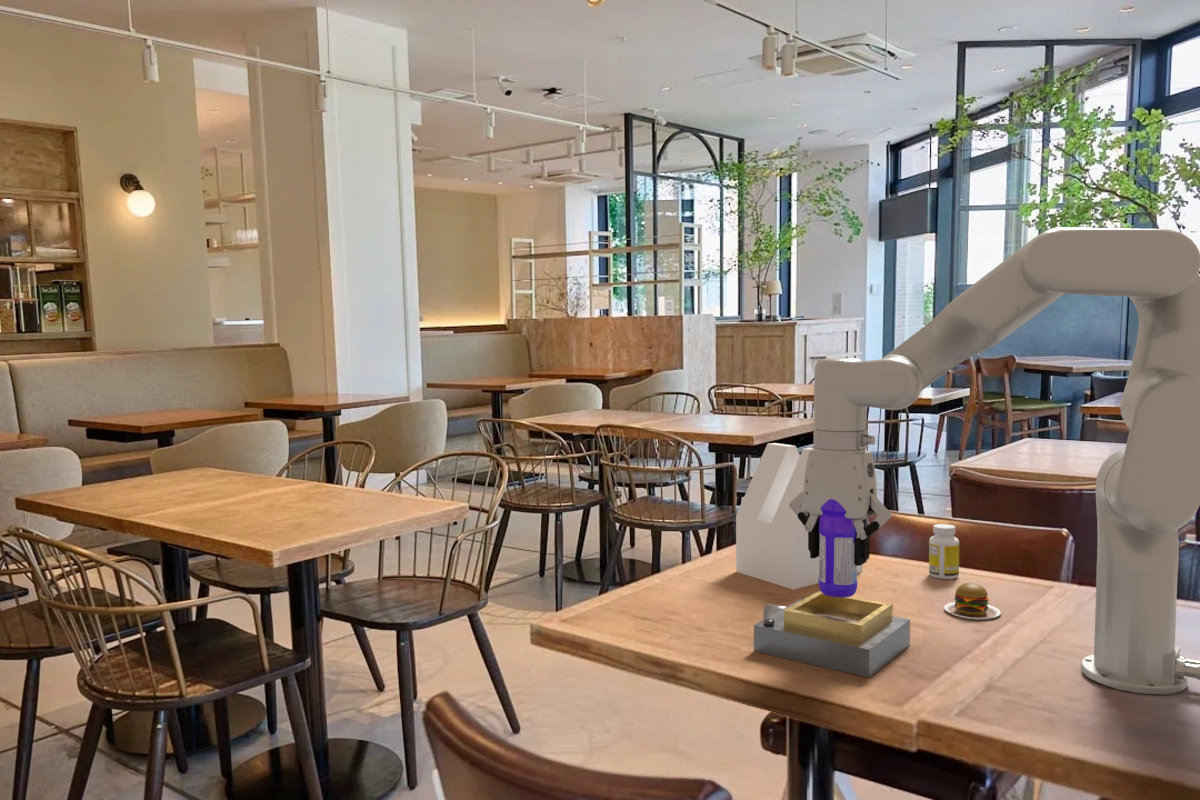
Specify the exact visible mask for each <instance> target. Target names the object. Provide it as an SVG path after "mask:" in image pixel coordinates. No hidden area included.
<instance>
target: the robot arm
mask: <svg viewBox="0 0 1200 800" xmlns="http://www.w3.org/2000/svg"><path fill="white" fill-rule="evenodd" d="M1199 273H1200V250H1199V248H1198V246H1197V245H1196V243H1194V241H1193V240H1192V239H1191V238H1189V237H1188V235H1185V234H1184V233H1181V232H1179V231H1176V230H1172V229H1167V228H1166V229H1164V228H1098V227H1097V228H1095V227H1094V228H1093V227H1066V226H1065V227H1055V228H1051V229H1048V230H1045V231H1043V232H1041V233H1040V234H1038V235H1037V236H1035V237H1033V238H1032V239H1031V240H1029V241H1028V242H1027V243H1025V244H1024V245H1023V246H1021V247H1020V248H1019V249H1017V250H1016V251H1015V252H1014V253H1012V254H1011V255H1009V256H1008V257H1007V258H1005V260H1003V261H1002V262H1000V264H998V265H997V266H996V267H994V268H993V269H992V270H990V271H989V272H987V273H986V274H985V275H983V277H981V278H980V279H979V280H977V281H976V282H975V283H973V284H972V285H971V286H969V287H968V288H967V289H965V290H964V291H963V292H961V293H960V294H959V295H957V296H956V297H955V298H954V299H953V300H952V301H950V302H949V303H948V304H947V305H946V306H945V307H944V308H943V309H942V310H941V311H940V312H939V313H938V314H937V315H936V316H934V318H932V319H931V320H930V321H928V322H927V323H926V324H925V325H924V326H923V327H921V328H920V329H918V330H917V332H915V333H914V334H912V335H911V336H910V337H909V338H907V339H906V340H905V341H903V342H902V343H901V344H898V346H897V347H895V348H894V349H893V350H891V351H890V352H889V353H887V354H886V355H884V356H883V357H882V358H880V359H871V360H862V359H860V358H855V357H826V358H821V359H819V360H818V361H816V363H815V365H814V369H813V370H814V372H813V373H814V374H813V377H814V379H813V384H814V385H813V388H814V389H813V447H811V448H812V449H810V451H809V455H808V460H807V465H806V471H805V479H804V490H803V491H802V492H801V493H800V494H799V495H798V496H797V497H796V498H795V499H793V500H792V501H791V502H790V503H789V506H790V508H791V509H792V510H793V511H794V513H795V514H797V516H798V519H799V520H800V521H801V522H802V524H803V525H804V526H805V530H806V531H807V532H808V550H809V551H810V558H813V559H814V558H816V557H819V542H820V532H819V521H820V516H821V515H823V512H822V511H821V506H823V505H824V504H825V503H826V502H827V501H828V500H830V499H833V500H836V501H837V502H839V503H840V504H841V506H842V507H843V508H844V509H845V510H846V514H845V518H847V519H849V520H852V521H853V524H854V526H855V529H856V532H857V534H858V538H857V539H855V553H854V564H855V565H856V566H860V565H862V566H863V565H864V564H866V563H867V562H868V560H869V559H870V556H871V555H870V554H871V553H870V550H871V549H870V548H871V543H870V542H871V540H870V539H871V537H872V536H873V535H874V534H875V533H876V532H877V531H878V530H880V529H881V528H882V526H883V525H884V524H886V523H887V522H888V521H889V520H890V519H892V513H891V512H890V511H889V509H888V508H887V507H886V506H885V505H884V504H883V503H882V502H881V501H880V500H879V499H878V490H877V489H878V487H877V485H878V484H877V478H876V477H877V476H876V469H875V468H876V467H875V464H874V463H875V462H874V456H873V452H872V451H871V450H867V448H868V446H870V445H871V446H874V445H875V444H876V436H874V435H870V434H868V429H867V407H868V408H876V409H882V410H888V411H890V410H891V411H899V410H903V409H906V408H908V407H911V405H913V404H914V403H915V402H916V401H917V400H918V398H919V397H920V395H921V392H923V390H925V389H926V388H927V387H929V386H930V385H932V384H933V383H934V382H935V381H937V380H938V379H939V378H941V377H942V376H943V375H945V374H946V373H948V372H949V371H950V370H952V369H953V368H955V367H956V366H958V365H959V364H961V363H962V362H964V361H966V360H968V359H969V358H972V357H973V356H976V355H978V354H981V353H983V352H985V351H987V350H989V349H991V348H993V347H994V346H995V345H997V344H999V343H1000V342H1002V341H1003V340H1004V339H1006V338H1007V337H1008V336H1010V335H1011V334H1012V333H1014V332H1015V331H1016V330H1017V329H1019V328H1020V327H1021V326H1023V325H1024V324H1025V323H1027V322H1028V321H1030V320H1031V319H1032V318H1033V317H1035V316H1037V315H1038V314H1039V313H1041V312H1042V311H1043V310H1044V309H1046V308H1048V307H1049V306H1050V305H1051V304H1053V303H1054V302H1056V301H1057V300H1058V299H1060V298H1061V297H1062V296H1064V295H1065V294H1067V295H1069V294H1070V295H1079V296H1080V295H1083V296H1084V295H1085V296H1098V297H1099V296H1101V297H1128V299H1130V301H1132V303H1133V305H1134V307H1135V309H1136V311H1137V315H1138V331H1137V337H1136V338H1137V339H1136V344H1135V349H1134V353H1133V356H1132V361H1131V364H1130V368H1129V371H1128V372H1129V373H1128V377H1127V380H1126V384H1125V387H1124V391H1123V393H1122V397H1121V399H1120V400H1121V401H1120V416H1121V418H1122V421H1123V422H1124V424H1125V425H1126V426H1127V428H1129V432H1128V436H1127V441H1126V444H1125V448H1124V449H1120V450H1117V451H1115V452H1113V454H1111V455H1110V456H1108V457H1107V458H1106V459H1105V460H1104V461H1103V463H1102V464H1101V466H1100V467H1099V469H1098V472H1097V474H1096V481H1095V503H1096V504H1095V505H1096V518H1097V519H1096V521H1097V547H1096V548H1097V549H1096V550H1097V551H1096V555H1097V556H1096V573H1095V575H1096V581H1095V584H1096V585H1095V609H1094V610H1095V611H1094V616H1095V617H1094V647H1093V648H1094V650H1093V653H1094V654H1090V655H1087V656H1085V657H1084V658H1082V660H1081V664H1080V665H1081V666H1080V669H1081V672H1082V673H1083V674H1084V675H1085V676H1086V677H1087V678H1089V679H1090V680H1092V681H1094V682H1096V683H1098V684H1100V685H1104V686H1106V687H1110V688H1111V689H1112V688H1113V689H1116V690H1121V691H1125V692H1130V693H1134V694H1135V693H1136V694H1145V695H1170V694H1176V693H1180V692H1181V691H1184V690H1185V689H1186V688H1188V678H1192V679H1196V680H1198V681H1200V660H1196V659H1189V658H1185V656H1183V655H1180V649H1181V647H1180V646H1179V645H1178V646H1177V645H1176V629H1177V628H1176V627H1177V626H1176V623H1177V594H1178V571H1179V557H1180V555H1179V553H1180V551H1179V529H1181V528H1182V527H1184V526H1186V525H1187V523H1189V522H1190V521H1191V519H1193V517H1194V516H1195V515H1196V513H1197V512H1198V510H1199V507H1200V274H1199ZM803 503H804V507H803ZM809 513H810V514H809ZM873 515H876V518H875V519H874V520H873V521H872V522H870V520H869V516H870V517H871V516H873Z"/></svg>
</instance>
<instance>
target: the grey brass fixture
mask: <svg viewBox="0 0 1200 800" xmlns="http://www.w3.org/2000/svg"><path fill="white" fill-rule="evenodd" d="M893 610H894V608H893V604H892V603H888V602H881V601H876V600H871V599H865V598H859V597H855V596H850V597H831V596H827V595H825V594H823V593H822V592H821V590H818V591H816V592H814V593H813V594H811V595H809V596H807V597H803V598H801V599H799V600H797V601H795V602H793V603H791V604H789V605H788V606H784V605H780V604H779V605H778V604H774V603H767V604H766V605H765V606H764V608H763V613H762V614H763V615H762V616H763V619H762V620H760V621H759V622H757V623H754V625H753V651H754V652H757V653H761V654H765V655H770V656H774V657H778V658H783V659H787V660H791V661H794V662H795V661H796V662H800V663H803V664H808V665H812V666H817V667H820V668H821V667H822V668H825V669H829V670H834V671H839V672H843V673H847V674H851V675H854V676H855V675H856V676H860V677H864V678H871V677H872V676H873V675H874V674H876V673H877V672H878V671H879V670H881V669H882V668H883V667H885V665H887V664H888V663H889V662H891V661H892V660H893V659H895V657H897V656H898V655H899V654H901V653H902V652H903V651H904V650H906V649H907V648H908V647H910V645H911V619H910V618H905V617H900V616H899V617H898V616H895V615H893Z"/></svg>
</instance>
